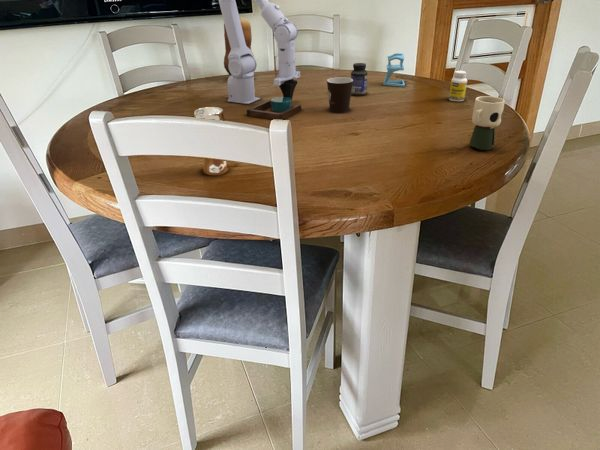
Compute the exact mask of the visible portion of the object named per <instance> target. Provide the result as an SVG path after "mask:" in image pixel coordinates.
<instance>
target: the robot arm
mask: <svg viewBox="0 0 600 450" xmlns="http://www.w3.org/2000/svg"><path fill="white" fill-rule="evenodd" d="M253 2H254V3H255V4H256V5H257V7H259V9H260V11H261V12H260V13H261V14H260V15H261V17H262V19H263V20H264V21H265V22H266V24H267V25H268V26H269V28H270V29H271V30H272V32H274V33H273V38H274V40H275V42H276V44H277V60H278V61H277V62H278V75H277V77H276V78H274V79H273V86H278V87H279V89H280V91H281V93H282V97H289V98H291V102H293V97H294V92H295V90H296V87H297V85H298V80H297V79H299V78H300V77H301V71H300V70H296V39H297V36H298V33H299V32H298V27H297V25H296V24H295V23H294V22H293V21H289V19H288V17H286V16H285V15H284V14H283V12H282V11H281V9H280V8H281V7H280V6H279V5H278V4H276V3H274V2H270V0H253ZM218 3H219V7H220V12H221V15H222V19H223V25H224V24H225V28H226V32H227V35H228V39H229V43H230V47H231V51H230V53H229V55H228V59H229V65H228V67H229V71H230V73H231V74H232V75H231V76H230V75H229V77H228V78H227V82H226V86H227V87H226V88H227V98H228V99H227V102H228V103H229V102H231V103H237V104H245V105H250V104H252V103H254V102H257V101H259V100H260V99H261V98H260V97H258V96H256V91H255V77H254V76H255V71H256V70H257V66H258V65H257V64H258V63H257V59H256V58H255V56H254V57H253V55H254V54H253V55H252V53H253V51H251V50H252V49H251V50H250V49H249V48H248V47H247V46H246V43H245V39H244V34H243V30H242V26H241V22H240V18H239V17H240V14H239V10H238V6H237V2H236V0H218Z"/></svg>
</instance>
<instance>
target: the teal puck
mask: <svg viewBox="0 0 600 450" xmlns="http://www.w3.org/2000/svg"><path fill="white" fill-rule="evenodd" d="M270 101H271V106H270V108H271V112H274V113H282V112H284V111H286V110H288V109H290V108H292V107H293V105H292V104H293V103H292V102H293V101H292V102H291V98H289V97H283V96H276V97H273V98H271V99H270Z"/></svg>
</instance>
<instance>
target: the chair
mask: <svg viewBox="0 0 600 450" xmlns="http://www.w3.org/2000/svg"><path fill="white" fill-rule="evenodd" d="M394 60H399V64H392V63H391V61H394ZM387 61H388V63H387V64H386V74H385V76H384V80H383V81H382V83H383V86H391V87H401V88H405V87H406V86H405V85H406V83H405V80H404V79H402V80H401V79H399V80H390V78H391V76H392V75H393V74H394V73H396V72H399V71H404V70H405V68H404V61H405V54H404V53H399V52H398V53H394V54H391V55H388V56H387Z"/></svg>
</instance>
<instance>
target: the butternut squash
mask: <svg viewBox="0 0 600 450" xmlns="http://www.w3.org/2000/svg"><path fill="white" fill-rule="evenodd" d="M239 18H240V22H241V26H242V30H243V34H244V39H245V43H246V46H247V47H248V48H249V49H250V50H251V51H252V39H253V38H252V36H253V35H252V26H251V23H250V21H249V19H246V18H245V17H241V16H239ZM223 33H224V35H223V38H224V50H225V53H224V59H223V68H224V69H225V71H226V73H227V74H228V75H229V77H230V76H231V75H232V74H231V73H230V71H229V67H228V65H229V59H228V55H229V53H230V51H231V47H230V43H229V39H228V35H227V32H226V28H225V24H224V23H223ZM252 55H253V57H254V58H255V55H254V53H253V51H252Z"/></svg>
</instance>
